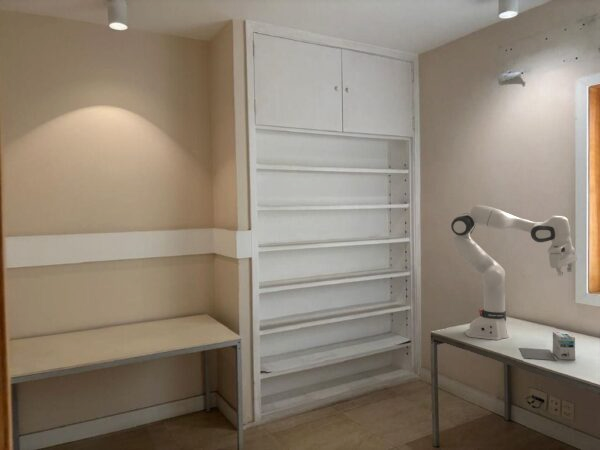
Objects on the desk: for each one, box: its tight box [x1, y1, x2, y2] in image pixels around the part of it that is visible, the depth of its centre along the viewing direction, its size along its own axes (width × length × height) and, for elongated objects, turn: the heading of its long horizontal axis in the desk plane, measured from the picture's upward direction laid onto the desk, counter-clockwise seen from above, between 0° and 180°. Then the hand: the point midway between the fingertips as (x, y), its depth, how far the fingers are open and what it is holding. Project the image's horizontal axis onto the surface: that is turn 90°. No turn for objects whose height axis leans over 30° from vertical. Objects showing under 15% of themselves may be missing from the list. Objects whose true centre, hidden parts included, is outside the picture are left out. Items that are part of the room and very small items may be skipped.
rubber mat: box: [518, 347, 558, 362], centre depth 229 cm, size 14×16×1 cm
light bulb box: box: [552, 330, 576, 361], centre depth 226 cm, size 11×7×11 cm, turn 170°
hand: (565, 273), depth 243 cm, fingers open, 8 cm apart
